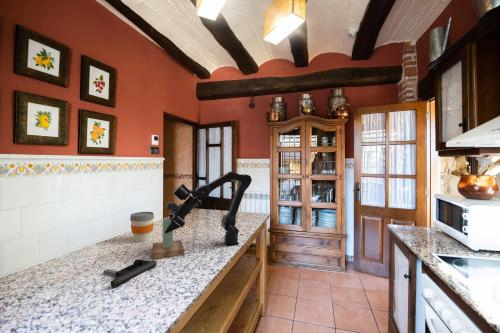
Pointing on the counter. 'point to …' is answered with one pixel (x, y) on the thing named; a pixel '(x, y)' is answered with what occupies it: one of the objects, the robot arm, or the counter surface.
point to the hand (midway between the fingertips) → (164, 230)
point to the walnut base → (167, 250)
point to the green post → (169, 236)
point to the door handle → (130, 271)
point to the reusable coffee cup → (142, 226)
